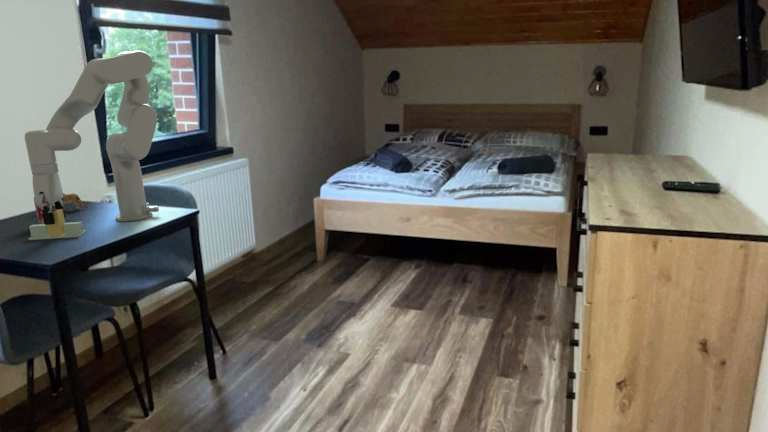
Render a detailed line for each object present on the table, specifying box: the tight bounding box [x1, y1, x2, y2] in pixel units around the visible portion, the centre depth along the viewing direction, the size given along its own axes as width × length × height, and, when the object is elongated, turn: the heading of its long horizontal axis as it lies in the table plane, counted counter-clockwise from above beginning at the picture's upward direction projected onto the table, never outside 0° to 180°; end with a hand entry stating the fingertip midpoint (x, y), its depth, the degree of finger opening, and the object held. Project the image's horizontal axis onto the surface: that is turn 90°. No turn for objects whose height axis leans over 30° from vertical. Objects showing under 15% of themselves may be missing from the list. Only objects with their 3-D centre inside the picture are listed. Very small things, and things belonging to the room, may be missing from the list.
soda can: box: [33, 197, 54, 224], centre depth 203 cm, size 7×7×12 cm
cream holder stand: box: [28, 221, 87, 241], centre depth 189 cm, size 16×6×4 cm, turn 96°
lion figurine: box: [63, 192, 89, 212], centre depth 224 cm, size 15×5×9 cm, turn 96°
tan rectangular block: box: [47, 206, 66, 236], centre depth 188 cm, size 4×4×10 cm
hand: (55, 220), depth 188 cm, fingers open, 7 cm apart
